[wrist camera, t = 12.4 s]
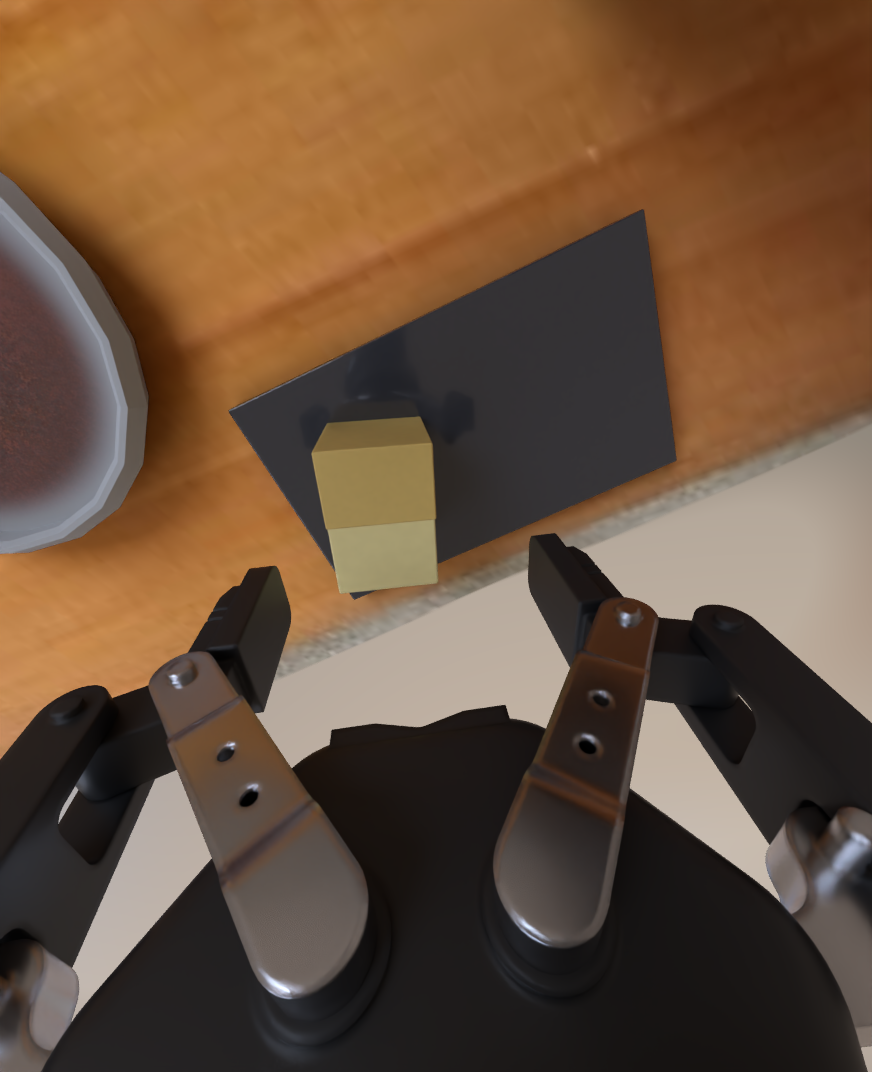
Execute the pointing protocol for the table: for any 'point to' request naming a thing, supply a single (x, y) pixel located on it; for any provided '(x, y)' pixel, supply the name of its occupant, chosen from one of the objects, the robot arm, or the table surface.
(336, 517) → the butter
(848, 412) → the table surface
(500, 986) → the robot arm
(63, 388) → the frying pan
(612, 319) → the slate board
